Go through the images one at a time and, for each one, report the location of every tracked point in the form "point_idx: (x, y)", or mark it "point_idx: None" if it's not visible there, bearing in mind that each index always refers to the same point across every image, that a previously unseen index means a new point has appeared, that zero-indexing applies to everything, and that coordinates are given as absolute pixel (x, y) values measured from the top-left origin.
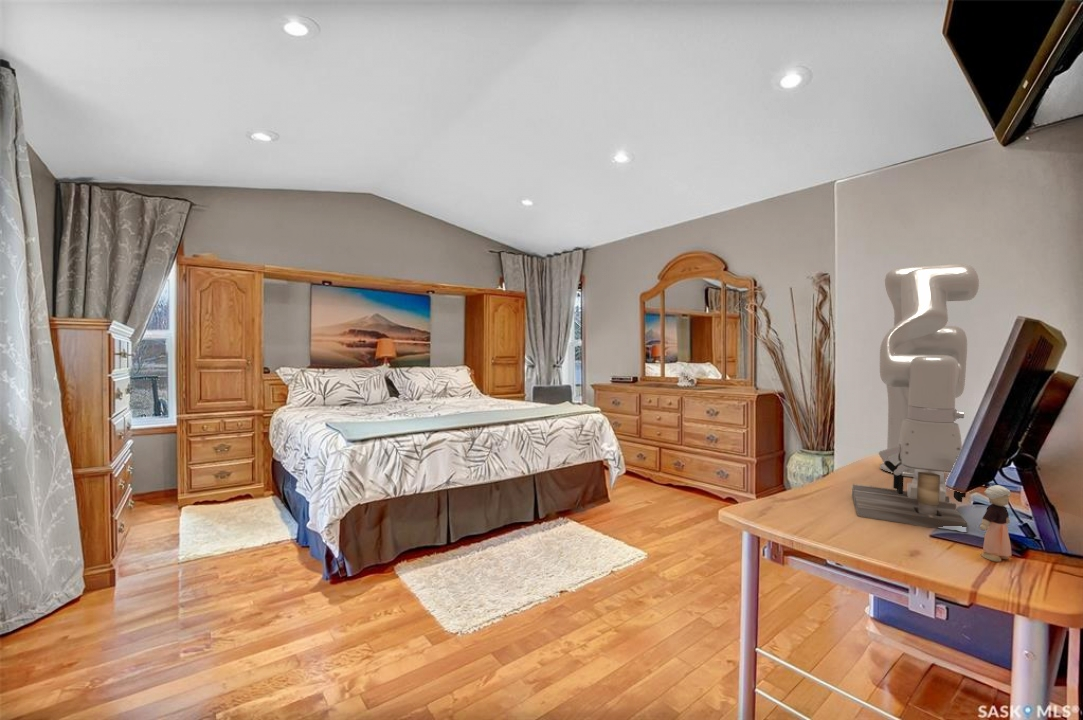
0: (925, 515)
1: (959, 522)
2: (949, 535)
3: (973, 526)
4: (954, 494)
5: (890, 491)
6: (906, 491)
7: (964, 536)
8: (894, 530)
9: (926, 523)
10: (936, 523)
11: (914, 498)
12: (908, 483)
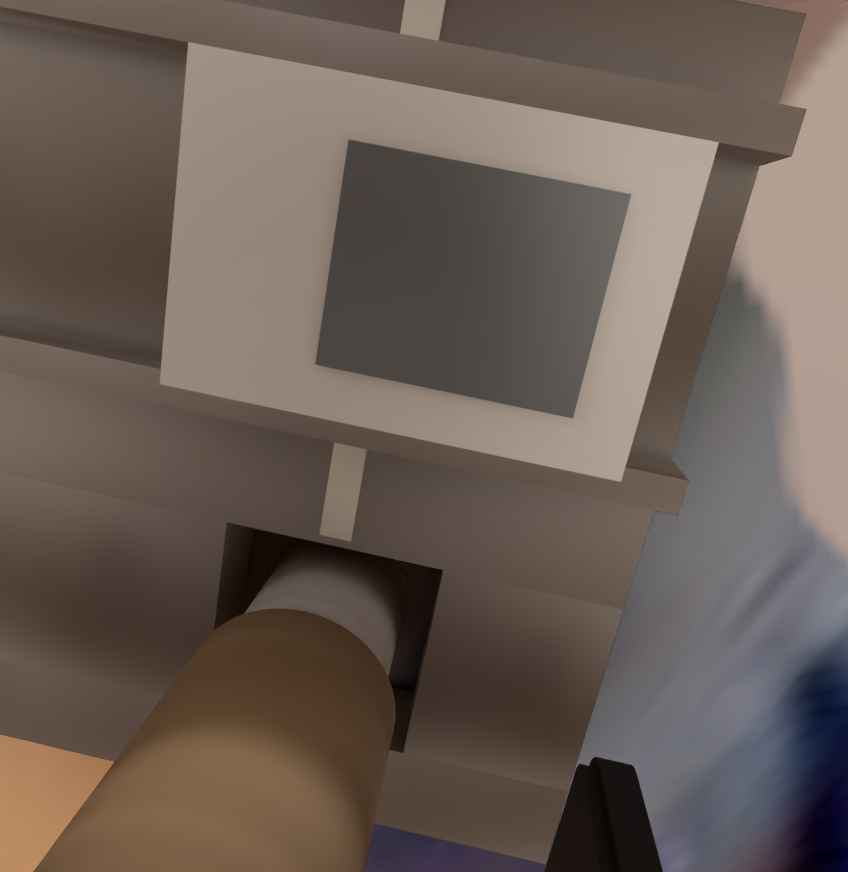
0: None
1: (490, 846)
2: (382, 861)
3: (696, 620)
4: (575, 833)
5: (68, 27)
6: (252, 47)
7: (483, 857)
8: (40, 850)
9: None
10: None
11: (253, 411)
12: (190, 100)
